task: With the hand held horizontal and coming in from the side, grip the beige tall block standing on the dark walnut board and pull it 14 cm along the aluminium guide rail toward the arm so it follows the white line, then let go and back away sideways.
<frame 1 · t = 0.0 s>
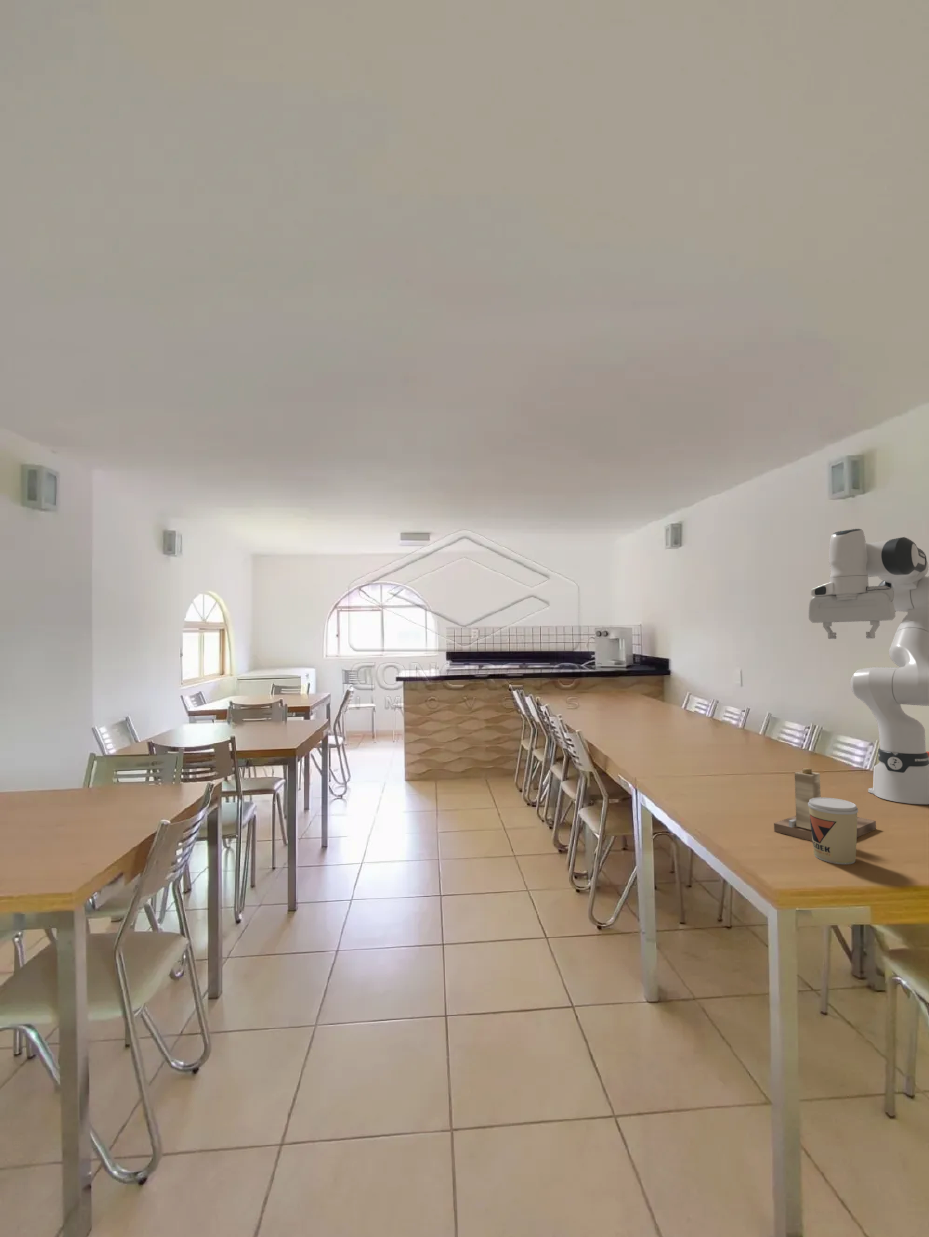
hand: (851, 638, 158), 48 cm above the table, tool pointing down, fingers open, 8 cm apart
board: (825, 830, 146), on the table
coffee cup: (834, 858, 128), on the table
beige tall block: (809, 798, 142), point 9 cm above the table, slide at 0.0 cm
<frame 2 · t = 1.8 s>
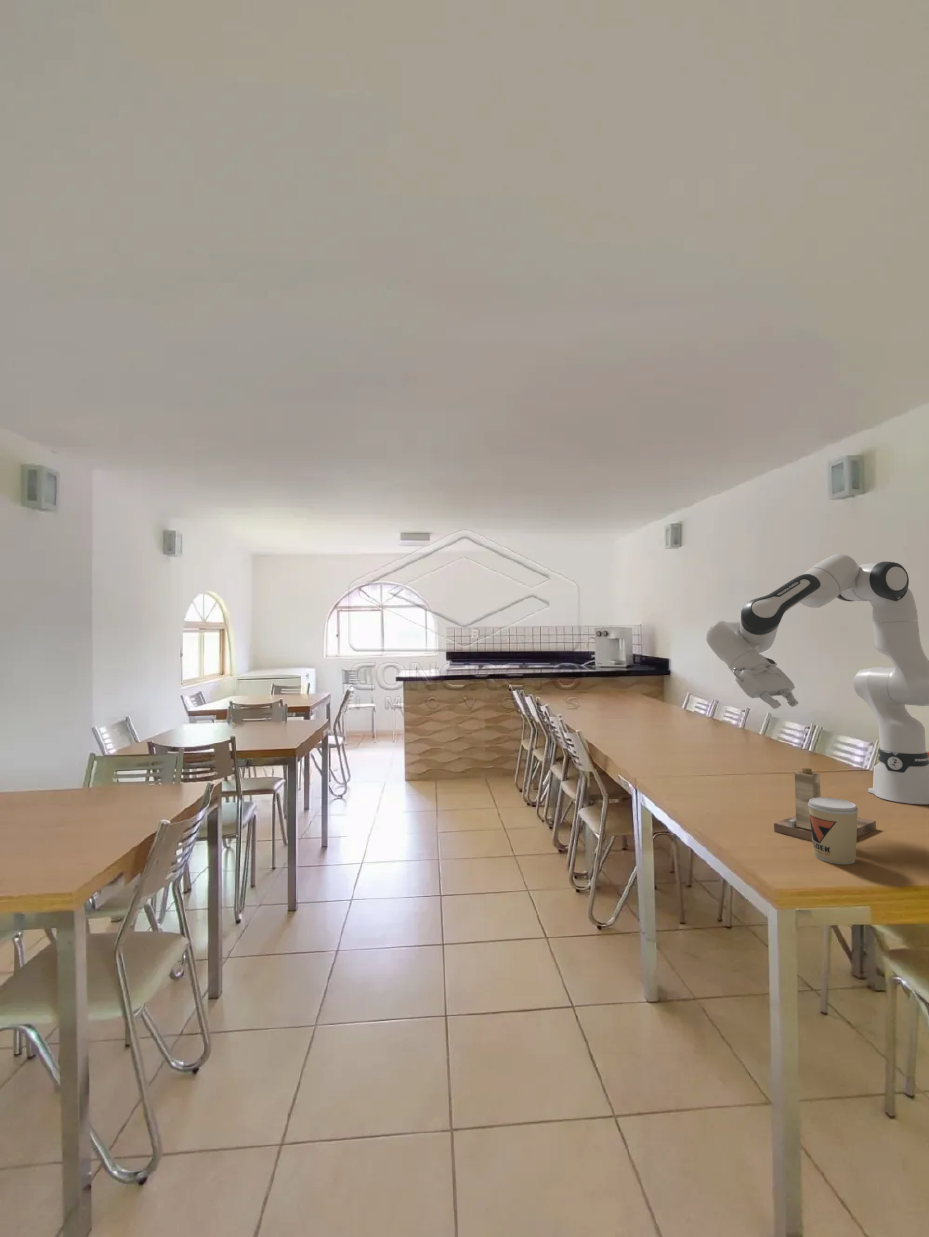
hand: (786, 706, 156), 30 cm above the table, tool tilted 45°, fingers open, 8 cm apart
nothing on the table moved.
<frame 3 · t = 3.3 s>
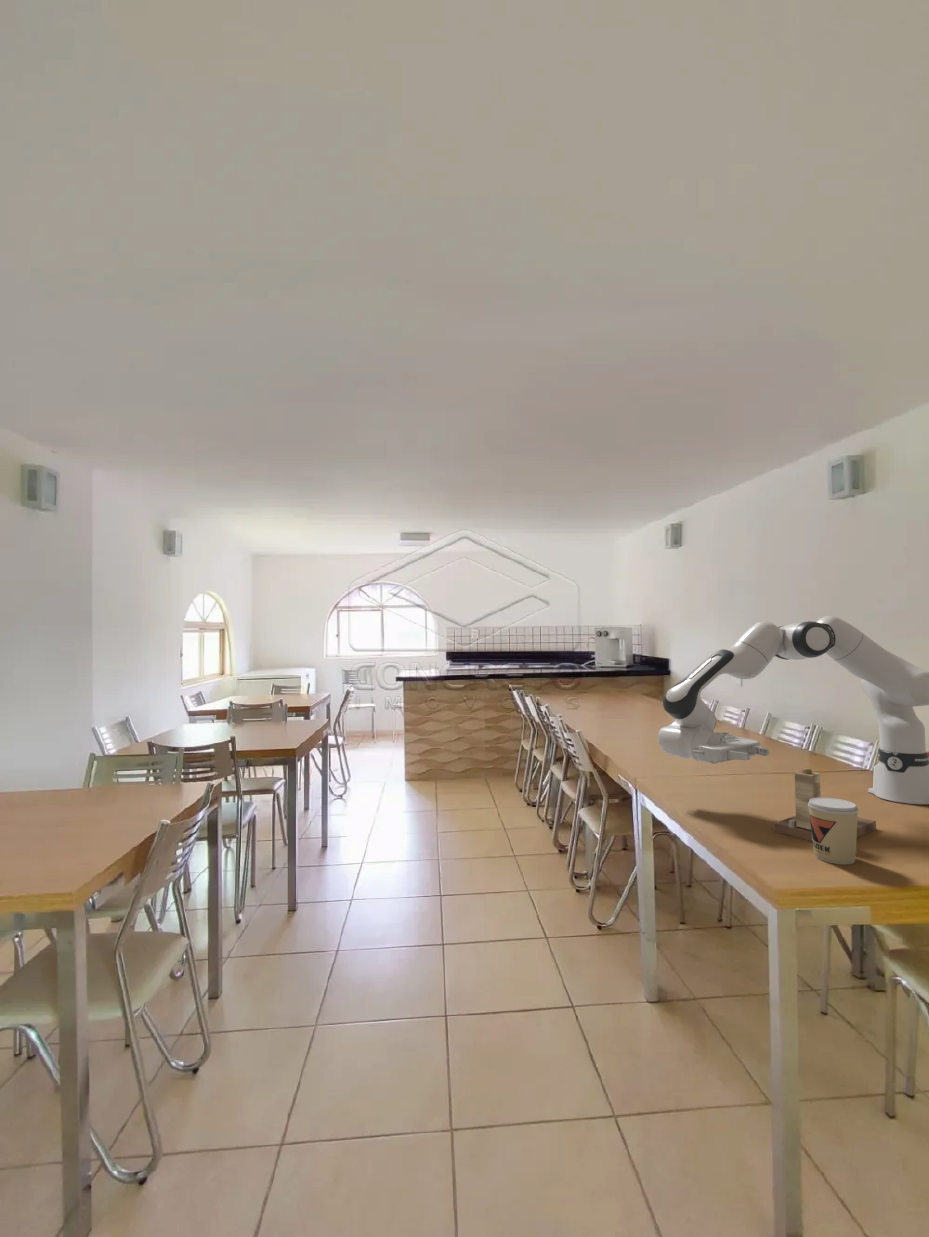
hand: (758, 754, 153), 18 cm above the table, tool horizontal, fingers open, 8 cm apart
nothing on the table moved.
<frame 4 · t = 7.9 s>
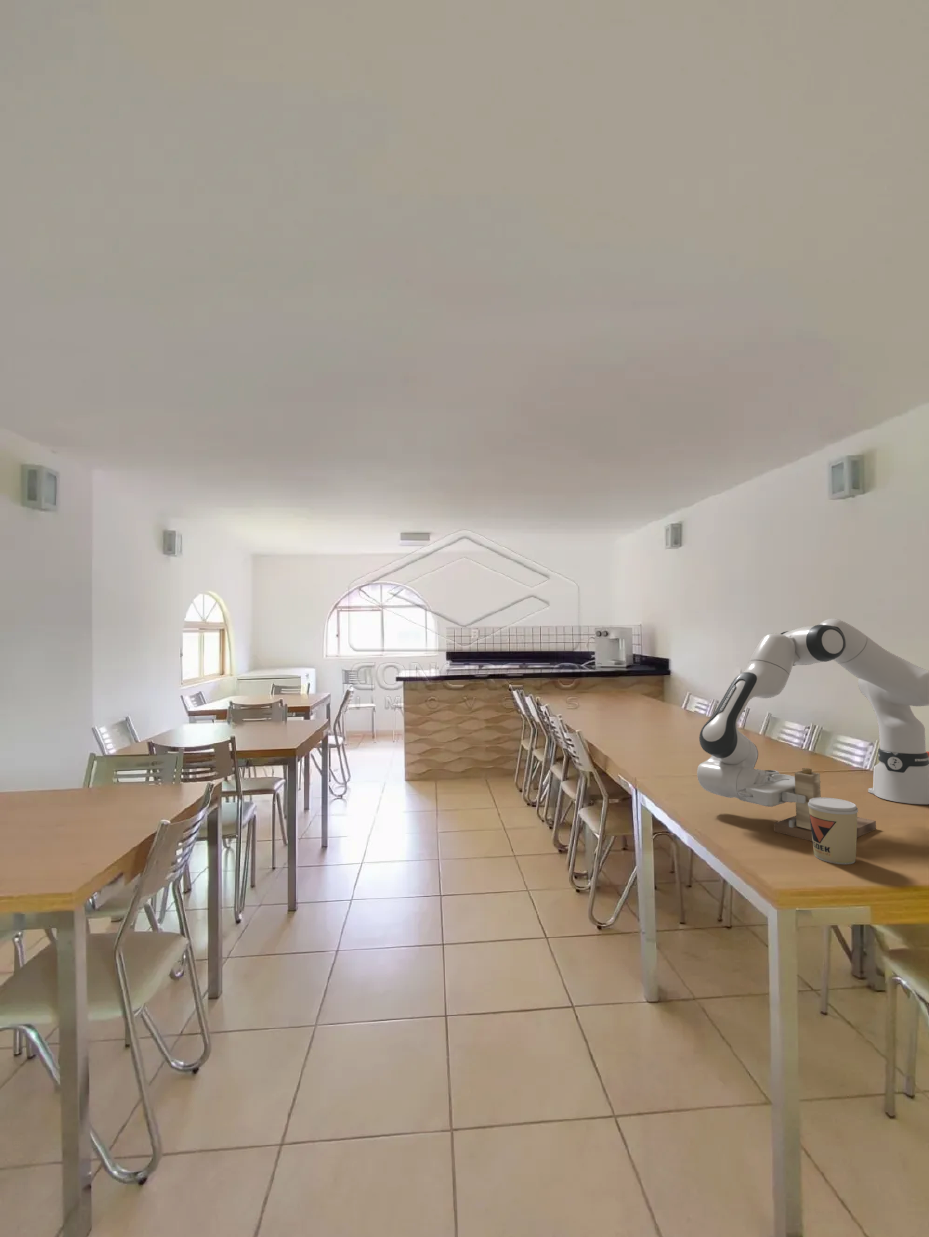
hand: (811, 797, 142), 10 cm above the table, tool horizontal, fingers closed on beige tall block, 4 cm apart
beige tall block: (809, 798, 142), point 9 cm above the table, slide at 0.0 cm, touching gripper
everything else where it was.
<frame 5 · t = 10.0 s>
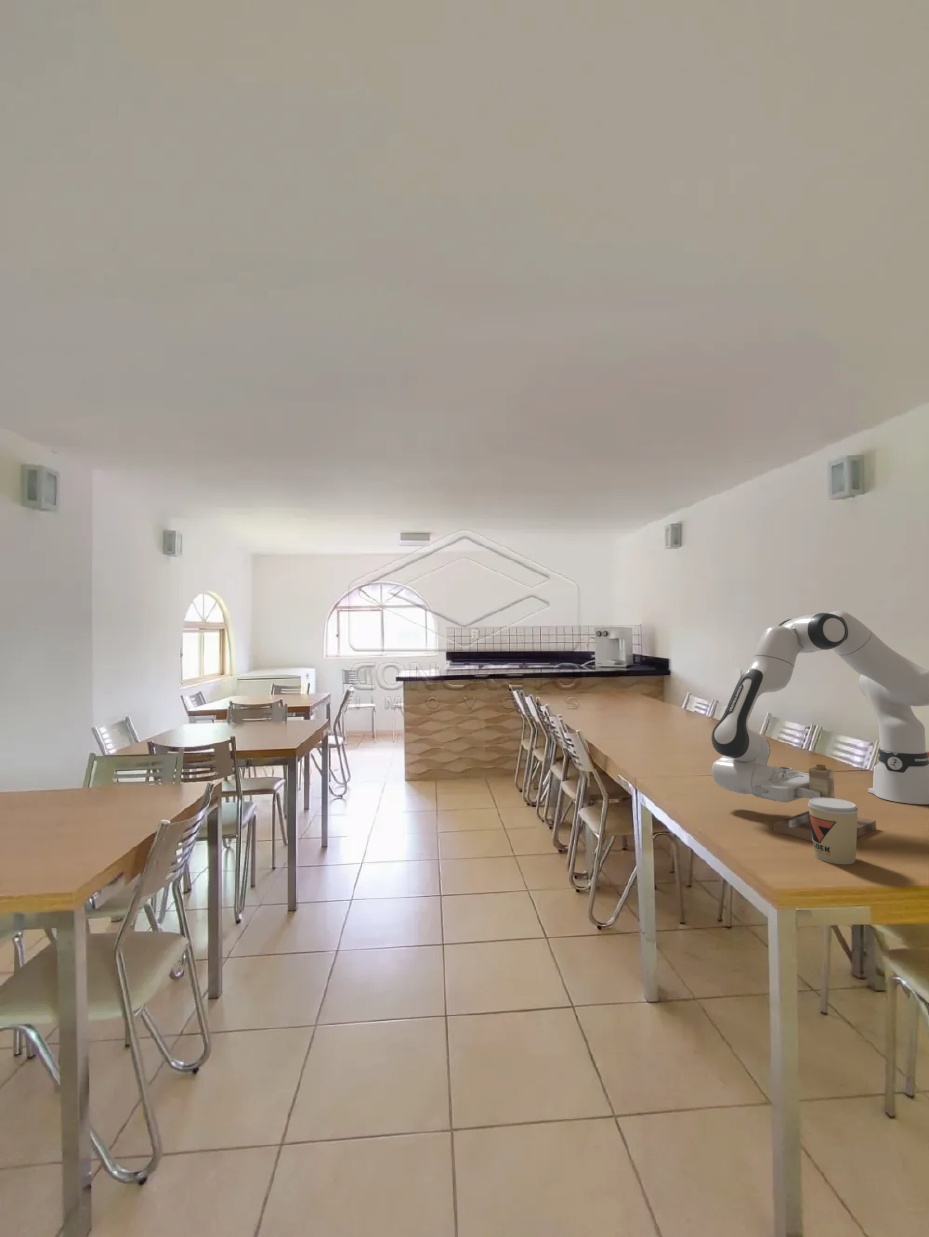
hand: (826, 793, 145), 9 cm above the table, tool horizontal, fingers closed on beige tall block, 4 cm apart
beige tall block: (823, 793, 146), point 9 cm above the table, slide at 7.1 cm, touching gripper
everything else where it was.
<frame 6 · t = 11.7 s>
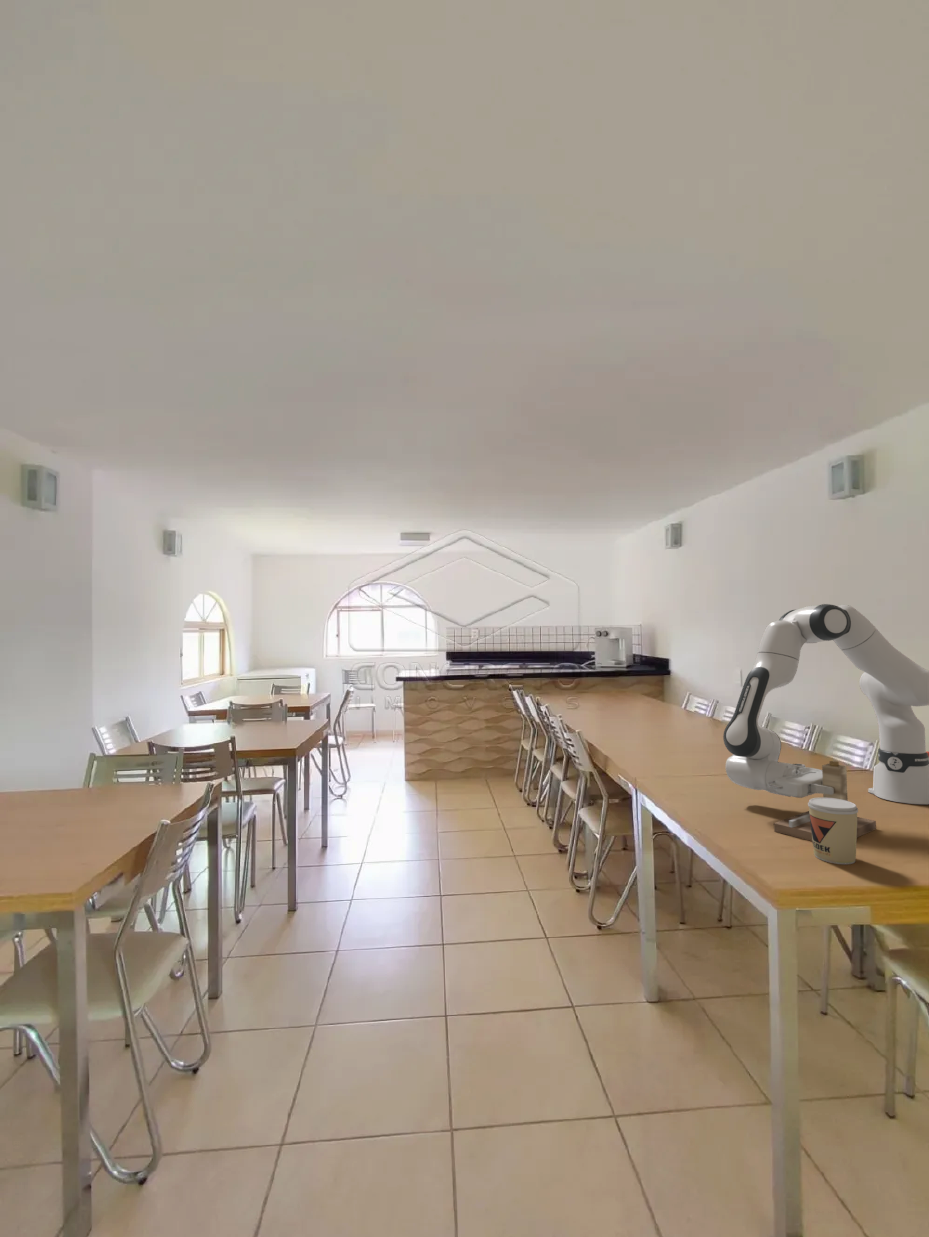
hand: (839, 789, 149), 9 cm above the table, tool horizontal, fingers closed on beige tall block, 4 cm apart
beige tall block: (836, 789, 150), point 9 cm above the table, slide at 14.0 cm, touching gripper
everything else where it was.
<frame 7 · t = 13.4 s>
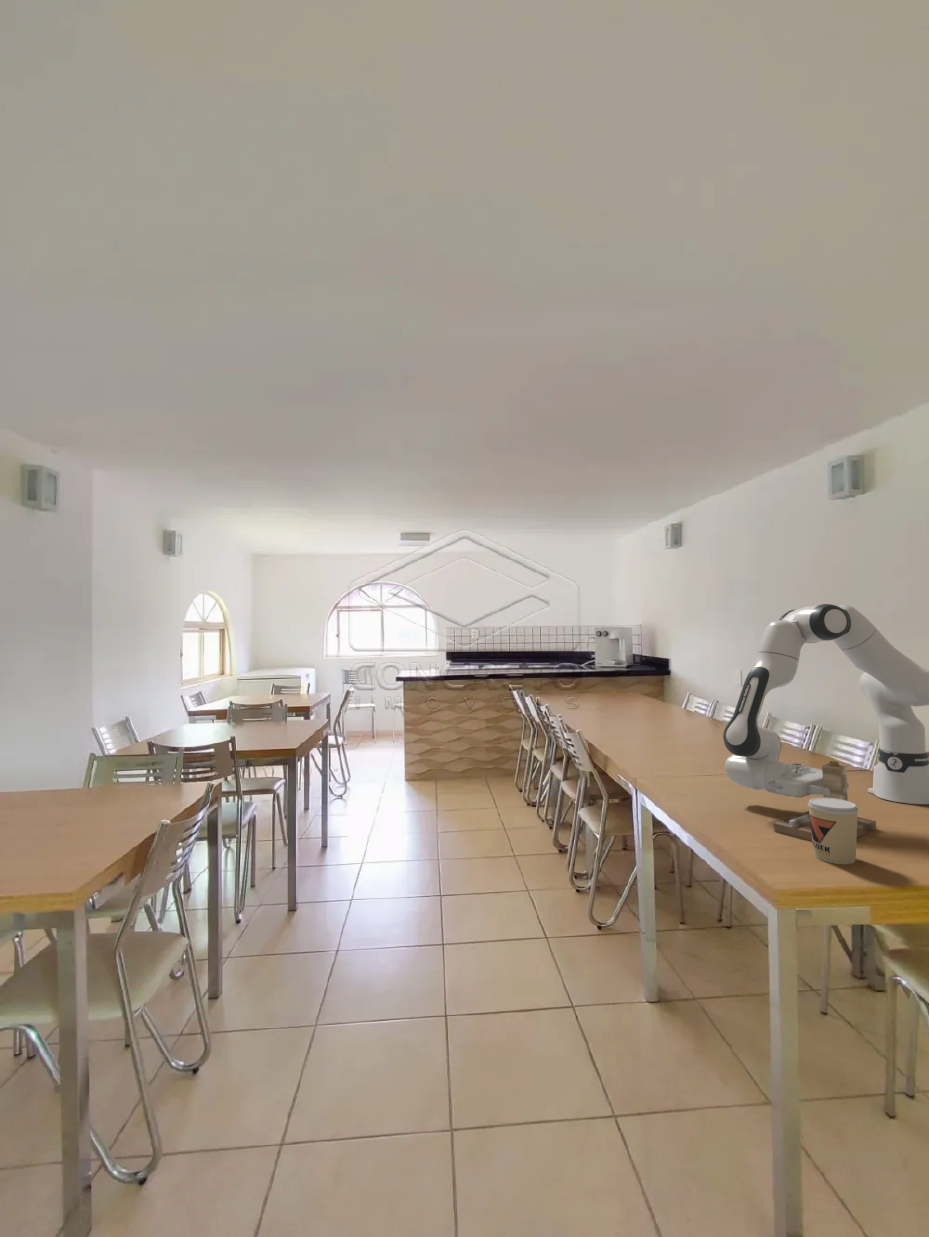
hand: (838, 789, 149), 9 cm above the table, tool horizontal, fingers open, 8 cm apart
beige tall block: (836, 789, 150), point 9 cm above the table, slide at 14.0 cm
everything else where it was.
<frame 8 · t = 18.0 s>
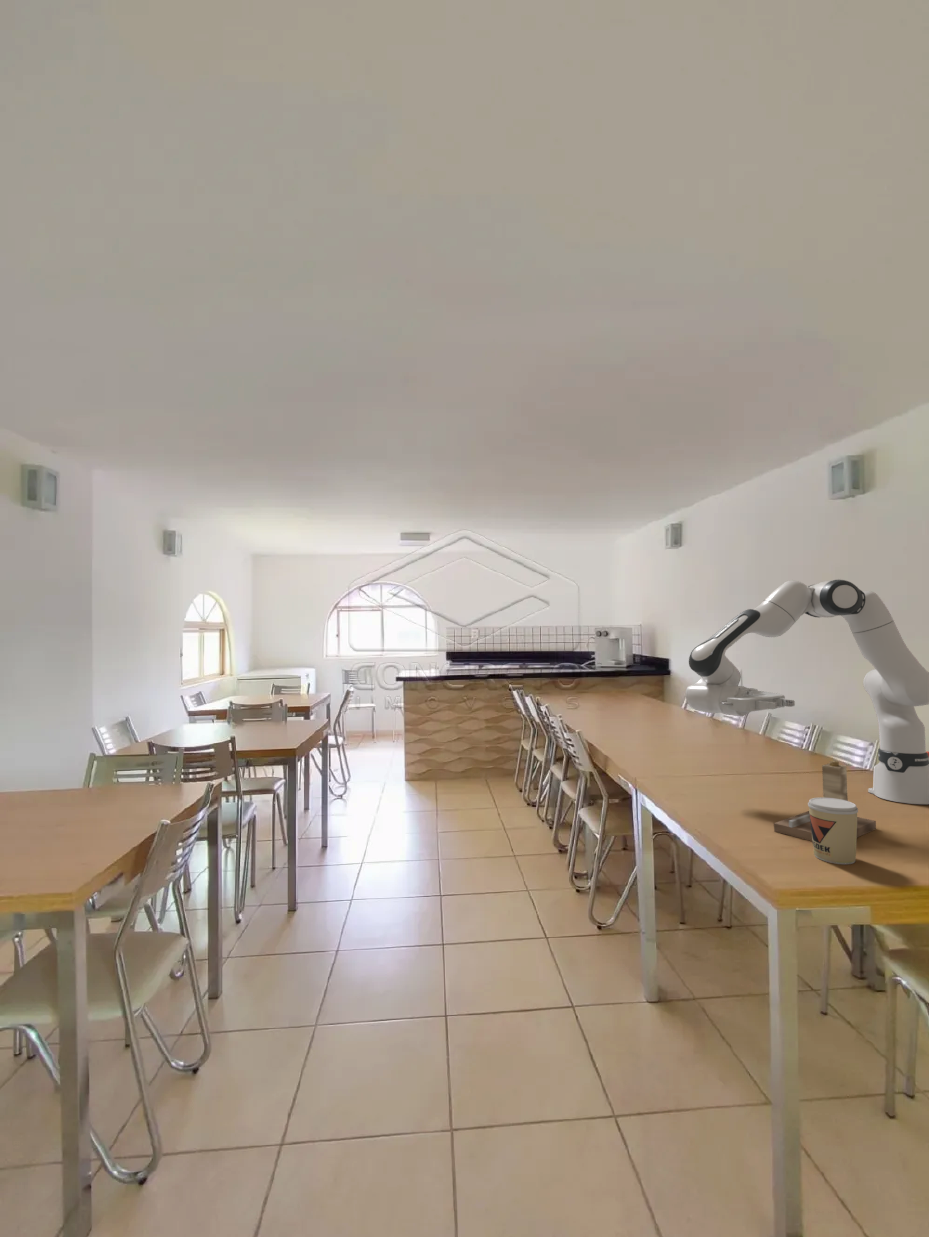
hand: (784, 704, 161), 30 cm above the table, tool horizontal, fingers open, 8 cm apart
nothing on the table moved.
at the end: beige tall block slide at 14.0 cm; the gripper is holding nothing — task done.
